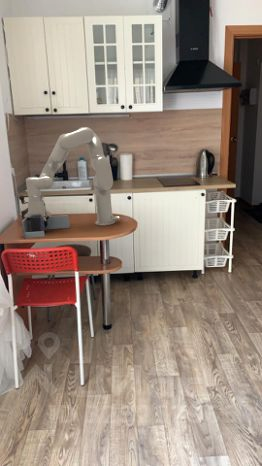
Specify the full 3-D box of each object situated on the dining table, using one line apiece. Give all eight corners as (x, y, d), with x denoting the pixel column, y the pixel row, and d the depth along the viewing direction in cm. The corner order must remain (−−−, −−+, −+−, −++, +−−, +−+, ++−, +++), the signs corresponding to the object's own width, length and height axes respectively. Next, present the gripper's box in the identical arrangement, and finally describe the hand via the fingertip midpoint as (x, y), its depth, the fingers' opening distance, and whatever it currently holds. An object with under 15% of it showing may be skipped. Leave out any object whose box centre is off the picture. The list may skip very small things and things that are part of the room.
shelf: (69, 227, 236) (67, 211, 233) (64, 235, 220) (62, 218, 217) (31, 229, 237) (29, 214, 234) (23, 238, 220) (21, 221, 218)
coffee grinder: (44, 220, 258) (41, 194, 252) (36, 225, 247) (32, 197, 242) (24, 220, 262) (20, 194, 257) (15, 225, 252) (11, 198, 246)
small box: (41, 234, 222) (39, 217, 219) (31, 234, 224) (28, 217, 220) (48, 229, 232) (46, 212, 229) (39, 229, 233) (36, 212, 230)
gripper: (51, 195, 225) (55, 224, 230) (22, 198, 226) (27, 226, 231) (48, 198, 218) (52, 228, 223) (18, 200, 219) (23, 230, 224)
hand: (39, 227), depth 227 cm, fingers closed on small box, 7 cm apart
